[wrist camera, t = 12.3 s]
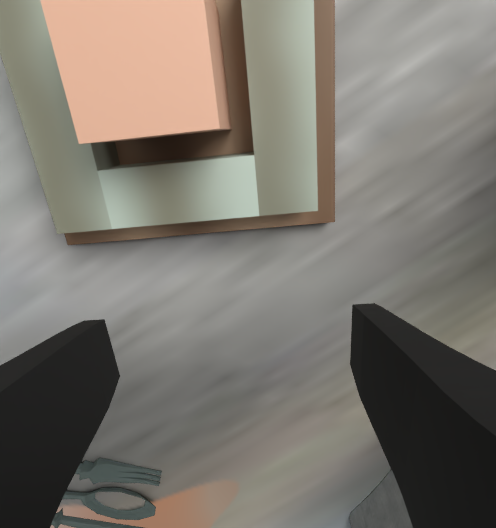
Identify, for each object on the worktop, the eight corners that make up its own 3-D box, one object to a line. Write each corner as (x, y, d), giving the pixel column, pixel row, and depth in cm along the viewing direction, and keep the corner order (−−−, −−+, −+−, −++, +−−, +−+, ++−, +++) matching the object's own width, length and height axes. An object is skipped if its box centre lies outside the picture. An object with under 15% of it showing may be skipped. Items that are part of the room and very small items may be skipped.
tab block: (218, 12, 14) (197, -58, 9) (231, 129, 15) (219, 128, 10) (112, 25, 14) (31, -34, 9) (136, 139, 16) (79, 144, 11)
